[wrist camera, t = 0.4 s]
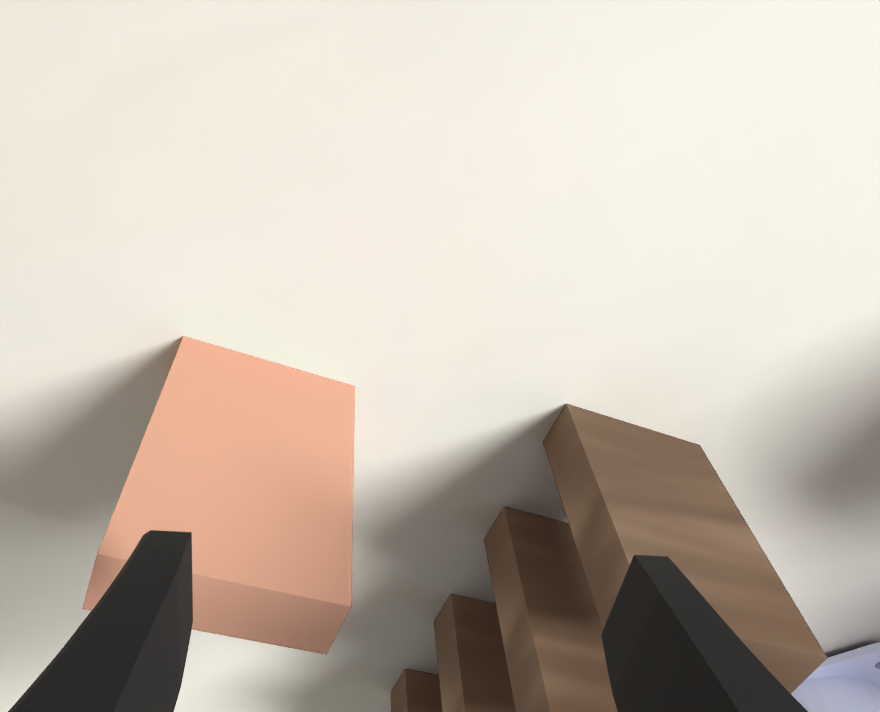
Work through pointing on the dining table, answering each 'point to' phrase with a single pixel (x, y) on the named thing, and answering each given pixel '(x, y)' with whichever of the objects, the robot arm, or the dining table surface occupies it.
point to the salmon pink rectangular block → (246, 496)
